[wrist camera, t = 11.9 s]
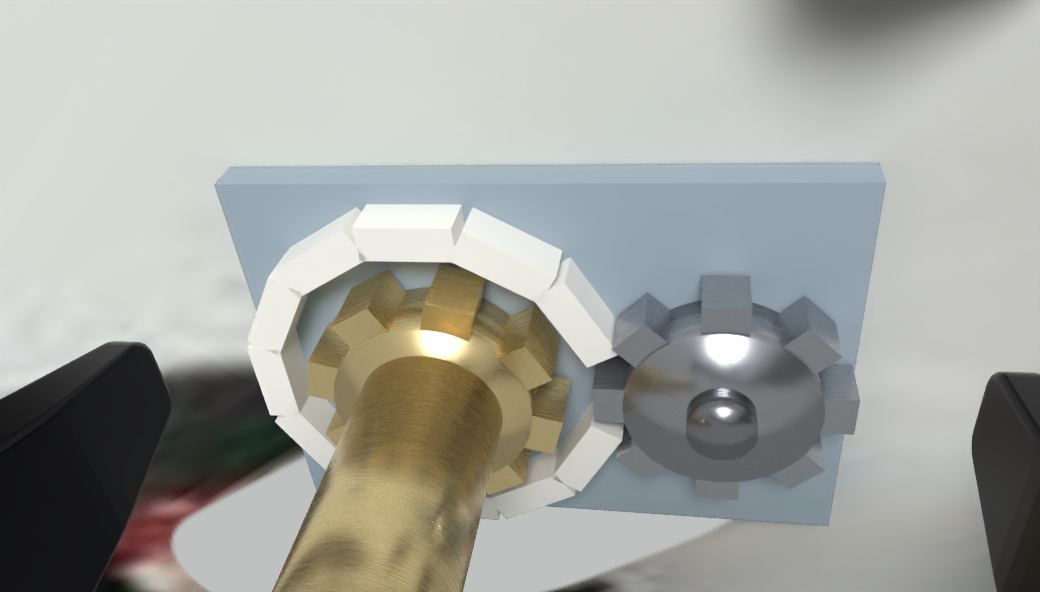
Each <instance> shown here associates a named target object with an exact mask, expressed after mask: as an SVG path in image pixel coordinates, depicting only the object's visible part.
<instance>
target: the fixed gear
mask: <svg viewBox="0 0 1040 592" xmlns="http://www.w3.org/2000/svg"><path fill="white" fill-rule="evenodd" d="M612 350H613V351H614V352H616V353H617V354H618V355H619V356H615V357H612V358H610V359H607V360H605V361H603V362H600V363H598V364H596V367H595V374H594V381H593V387H592V393H593V410H594V422H614V423H624V428H623V437H622V441H621V443H620V444H619V445H618V447H617V456H616V458H617V459H618V460H620V461H621V462H622V463H624V464H625V465H626V466H628V467H629V468H630V469H632V470H633V471H634V472H636V473H637V474H638V475H640V476H641V477H643V478H644V479H645V480H648V479H650V478H652V477H653V476H655V475H656V474H658V473H660V472H661V471H663V470H664V469H666V468H667V469H669V470H671V471H673V472H676V473H678V474H681V475H684V476H687V477H691V478H694V479H695V497H700V498H715V499H730V500H738V493H739V482H740V481H748V480H754V479H758V478H762V477H766V476H769V475H772V476H773V477H775V478H776V479H777V480H779V481H780V482H781V483H782V484H784V485H785V486H786V487H787V488H789V489H792V488H794V487H796V486H797V485H799V484H801V483H803V482H805V481H807V480H808V479H810V478H812V477H814V476H816V475H817V474H819V473H821V472H823V471H825V465H824V459H823V452H822V445H821V439H820V433H832V434H852V435H854V431H855V425H856V420H857V414H858V408H859V403H860V398H859V394H858V389H857V384H856V380H855V375H854V370H853V366H852V365H844V364H833V363H835V362H836V361H838V360H840V359H841V358H843V355H842V350H841V345H840V340H839V335H838V331H837V326H836V322H834V321H833V320H832V319H831V318H830V317H829V316H828V315H827V314H825V313H824V312H823V311H822V310H821V309H820V308H819V307H817V306H816V305H815V304H814V303H813V302H812V301H811V300H809V299H808V298H807V297H806V296H803V297H802V298H800V299H799V300H797V301H796V302H794V303H793V304H792V305H790V306H789V307H787V308H786V309H784V310H783V311H782V312H780V313H778V312H776V311H775V310H772V309H770V308H767V307H765V306H762V305H759V304H756V303H752V296H751V283H750V276H725V275H702V280H701V300H700V301H695V302H691V303H687V304H684V305H681V306H678V307H676V308H673V309H671V310H669V309H667V308H666V307H665V306H664V305H663V304H661V303H660V302H659V301H658V300H657V299H655V298H654V297H653V296H652V295H650V294H649V293H648V292H647V293H646V294H644V295H643V296H642V297H640V298H639V299H638V300H637V301H635V302H634V303H633V304H632V305H630V306H629V307H628V308H627V309H625V310H624V311H623V312H622V313H620V314H619V315H618V316H617V317H616V321H615V329H614V336H613V344H612ZM620 356H621V357H620Z"/></svg>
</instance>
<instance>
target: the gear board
mask: <svg viewBox="0 0 1040 592" xmlns="http://www.w3.org/2000/svg"><path fill="white" fill-rule="evenodd" d="M214 186H215V189H216V192H217V195H218V198H219V201H220V204H221V207H222V210H223V212H224V215H225V218H226V221H227V224H228V227H229V230H230V233H231V236H232V239H233V242H234V245H235V248H236V251H237V254H238V257H239V260H240V263H241V266H242V269H243V272H244V275H245V278H246V281H247V284H248V287H249V290H250V293H251V296H252V299H253V302H254V305H255V308H256V311H257V312H256V315H255V318H254V321H253V324H252V327H251V330H250V333H249V336H248V339H247V342H249V343H250V345H249V346H248V348H247V351H248V353H249V356H250V359H251V362H252V365H253V368H254V370H255V373H256V376H257V379H258V382H259V385H260V387H261V390H262V393H263V396H264V399H265V402H266V404H267V407H268V410H269V413H270V415H278V417H277V419H276V421H275V422H276V423H277V424H278V425H279V426H280V427H281V428H282V429H283V430H284V431H285V432H286V433H287V434H288V435H289V436H290V437H291V438H292V439H294V440H295V441H296V442H297V443H298V444H299V445H300V446H301V447H302V449H303V452H304V455H305V458H306V461H307V463H308V466H309V470H310V472H311V476H312V478H313V482H314V484H315V487H316V490H317V489H318V487H319V485H320V483H321V480H322V478H323V476H324V474H325V471H326V469H327V467H328V465H329V462H330V460H331V458H332V456H333V453H334V451H335V449H336V447H337V445H336V444H334V443H333V442H332V441H331V440H330V439H329V438H328V437H327V436H326V435H325V433H326V431H327V429H328V426H329V424H330V422H331V420H332V418H333V416H334V414H335V411H336V409H337V408H336V405H335V402H334V401H329V400H325V399H321V398H317V397H313V396H309V395H307V368H308V360H309V358H310V356H311V355H312V353H313V351H314V349H315V347H316V345H317V343H318V342H319V340H320V338H321V336H322V334H323V332H324V330H325V328H326V327H327V325H328V323H329V321H330V322H334V320H335V318H336V317H337V315H338V313H339V311H340V309H341V307H342V305H343V303H344V301H345V300H346V298H347V296H348V294H349V292H350V290H351V288H352V287H354V286H356V285H358V284H359V283H361V282H363V281H365V280H367V279H369V278H371V277H373V276H374V275H376V274H378V273H380V272H382V271H384V270H386V269H387V271H388V272H389V273H390V274H391V275H392V276H393V278H394V279H395V280H396V281H397V282H398V283H399V284H400V286H401V287H402V288H403V289H404V290H409V289H415V288H424V287H431V285H432V282H433V280H434V277H435V275H436V272H437V270H438V267H439V265H440V264H441V265H445V266H450V267H454V268H458V269H462V270H466V271H471V272H473V273H475V274H477V275H479V276H481V277H483V278H486V281H485V287H484V292H483V297H482V298H483V299H485V300H487V301H489V302H491V303H493V304H495V305H497V306H498V307H499V308H501V309H502V310H504V311H505V312H507V313H508V314H509V315H510V316H511V315H513V314H515V313H517V312H520V311H522V310H524V309H526V308H528V307H530V306H533V305H535V306H536V307H537V308H538V310H539V311H540V312H541V314H542V315H543V316H544V317H545V319H546V320H547V321H548V322H549V324H550V325H551V326H552V327H553V329H554V330H555V331H556V333H557V334H558V335H559V336H560V342H559V348H558V353H557V359H556V364H555V369H554V375H555V376H559V377H563V378H567V379H570V384H569V390H568V396H567V402H566V408H565V415H564V421H563V425H562V429H561V432H560V435H559V438H558V442H557V445H556V448H555V452H554V455H553V454H549V453H545V452H541V451H536V450H532V449H531V450H530V455H529V460H528V465H527V471H526V476H525V481H524V483H521V484H518V485H515V486H513V487H510V488H507V489H504V490H501V491H498V492H496V493H493V494H490V495H488V494H487V493H486V496H485V500H484V504H483V508H482V513H481V517H480V518H482V519H494V520H498V519H499V515H500V512H501V513H502V514H503V516H504V517H505V518H507V519H508V518H510V517H513V516H516V515H519V514H522V513H525V512H528V511H531V510H534V509H537V508H540V507H543V506H551V507H566V508H580V509H595V510H608V511H623V512H638V513H651V514H665V515H680V516H694V517H708V518H723V519H736V520H751V521H765V522H779V523H794V524H808V525H822V526H828V524H829V518H830V512H831V507H832V501H833V495H834V489H835V483H836V477H837V471H838V465H839V459H840V453H841V447H842V441H843V435H844V434H832V433H820V439H821V445H822V452H823V459H824V465H825V471H823V472H821V473H819V474H817V475H816V476H814V477H812V478H810V479H808V480H807V481H805V482H803V483H801V484H799V485H797V486H796V487H794V488H792V489H789V488H787V487H786V486H785V485H784V484H782V483H781V482H780V481H779V480H777V479H776V478H775V477H773V476H772V475H769V476H766V477H762V478H758V479H754V480H748V481H740V482H739V493H738V500H730V499H715V498H700V497H695V479H694V478H691V477H687V476H684V475H681V474H678V473H676V472H673V471H671V470H669V469H667V468H666V469H664V470H663V471H661V472H660V473H658V474H656V475H655V476H653V477H652V478H650V479H648V480H645V479H644V478H643V477H641V476H640V475H638V474H637V473H636V472H634V471H633V470H632V469H630V468H629V467H628V466H626V465H625V464H624V463H622V462H621V461H620V460H618V459H617V458H616V456H617V447H618V445H619V444H620V443H621V441H622V437H623V428H624V423H614V422H594V410H593V393H592V387H593V381H594V374H595V367H596V364H598V363H600V362H603V361H605V360H607V359H610V358H612V357H615V356H619V355H618V354H617V353H616V352H614V351H613V350H612V344H613V336H614V329H615V321H616V317H617V316H618V315H619V314H620V313H622V312H623V311H624V310H625V309H627V308H628V307H629V306H630V305H632V304H633V303H634V302H635V301H637V300H638V299H639V298H640V297H642V296H643V295H644V294H646V293H647V292H648V293H649V294H650V295H652V296H653V297H654V298H655V299H657V300H658V301H659V302H660V303H661V304H663V305H664V306H665V307H666V308H667V309H669V310H671V309H673V308H676V307H678V306H681V305H684V304H687V303H691V302H695V301H700V300H701V280H702V275H725V276H750V283H751V296H752V303H756V304H759V305H762V306H765V307H767V308H770V309H772V310H775V311H776V312H778V313H780V312H782V311H783V310H784V309H786V308H787V307H789V306H790V305H792V304H793V303H794V302H796V301H797V300H799V299H800V298H802V297H803V296H806V297H807V298H808V299H809V300H811V301H812V302H813V303H814V304H815V305H816V306H817V307H819V308H820V309H821V310H822V311H823V312H824V313H825V314H827V315H828V316H829V317H830V318H831V319H832V320H833V321H834V322H836V326H837V331H838V335H839V340H840V345H841V350H842V355H843V358H841V359H840V360H838V361H836V362H835V363H833V364H844V365H852V366H853V370H855V364H856V358H857V352H858V346H859V340H860V334H861V328H862V322H863V316H864V310H865V305H866V299H867V293H868V287H869V281H870V275H871V269H872V263H873V257H874V251H875V245H876V239H877V233H878V227H879V221H880V215H881V209H882V204H883V198H884V192H885V186H886V181H885V178H884V176H883V173H882V170H881V167H880V164H879V163H783V164H637V165H491V166H345V167H230V168H229V169H228V170H227V171H226V172H225V173H224V175H223V176H222V177H221V178H220V179H219V180H218V181H217V182H216V183H215V184H214ZM620 357H621V356H620Z"/></svg>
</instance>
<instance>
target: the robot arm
mask: <svg viewBox="0 0 1040 592" xmlns="http://www.w3.org/2000/svg"><path fill="white" fill-rule="evenodd" d="M171 407H172V401H171V395H170V392H169V390H168V388H167V385H166V383H165V381H164V378H163V376H162V374H161V371H160V369H159V367H158V365H157V362H156V360H155V358H154V355H153V353H152V351H151V350H150V349H149V348H148V347H147V346H146V345H145V344H143V343H140V342H122V341H114V342H108V343H106V344H103V345H101V346H100V347H98V348H96V349H94V350H92V351H90V352H88V353H86V354H85V355H83V356H81V357H79V358H77V359H75V360H73V361H71V362H70V363H68V364H66V365H64V366H62V367H60V368H58V369H56V370H55V371H53V372H51V373H49V374H47V375H45V376H43V377H41V378H40V379H38V380H36V381H34V382H32V383H30V384H28V385H26V386H25V387H23V388H21V389H19V390H17V391H15V392H13V393H11V394H9V395H8V396H6V397H4V398H2V399H0V592H94V591H95V589H96V587H97V585H98V583H99V581H100V579H101V577H102V575H103V573H104V571H105V569H106V567H107V565H108V563H109V561H110V559H111V558H112V556H113V554H114V552H115V550H116V548H117V546H118V544H119V541H120V539H121V537H122V535H123V533H124V531H125V529H126V527H127V524H128V522H129V519H130V517H131V515H132V512H133V510H134V507H135V505H136V502H137V500H138V497H139V495H140V492H141V489H142V487H143V484H144V482H145V479H146V477H147V474H148V471H149V469H150V466H151V464H152V461H153V459H154V456H155V453H156V451H157V448H158V446H159V443H160V441H161V438H162V435H163V433H164V430H165V428H166V425H167V423H168V420H169V417H170V414H171ZM972 458H973V464H974V469H975V475H976V480H977V486H978V491H979V497H980V503H981V508H982V514H983V519H984V525H985V530H986V536H987V542H988V547H989V553H990V558H991V564H992V569H993V575H994V580H995V585H996V590H997V592H1040V374H1037V373H1024V372H997V373H995V374H994V375H992V376H991V378H990V379H989V381H988V383H987V386H986V389H985V392H984V396H983V399H982V403H981V406H980V410H979V413H978V417H977V420H976V424H975V428H974V431H973V436H972Z"/></svg>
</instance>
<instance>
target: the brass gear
mask: <svg viewBox="0 0 1040 592" xmlns="http://www.w3.org/2000/svg"><path fill="white" fill-rule="evenodd" d="M485 281H486V278H483V277H481V276H479V275H477V274H475V273H473V272H471V271H466V270H462V269H458V268H454V267H450V266H445V265H441V264H440V265H439V267H438V270H437V272H436V275H435V277H434V280H433V282H432V285H431V287H424V288H415V289H409V290H404V289H403V288H402V287H401V286H400V284H399V283H398V282H397V281H396V280H395V279H394V278H393V276H392V275H391V274H390V273H389V272H388V271H387V269H386V270H384V271H382V272H380V273H378V274H376V275H374V276H373V277H371V278H369V279H367V280H365V281H363V282H361V283H359V284H358V285H356V286H354V287H352V288H351V290H350V292H349V294H348V296H347V298H346V300H345V301H344V303H343V305H342V307H341V309H340V311H339V313H338V315H337V317H336V318H335V320H334V322H330V321H329V323H328V325H327V327H326V328H325V330H324V332H323V334H322V336H321V338H320V340H319V342H318V343H317V345H316V347H315V349H314V351H313V353H312V355H311V356H310V358H309V360H308V368H307V395H309V396H313V397H317V398H321V399H325V400H329V401H334V402H335V405H336V408H337V409H336V411H335V414H334V416H333V418H332V420H331V422H330V424H329V426H328V429H327V431H326V433H325V435H326V436H327V437H328V438H329V439H330V440H331V441H332V442H333V443H334V444H336V445H337V447H336V449H335V451H334V453H333V456H332V458H331V460H330V462H329V465H328V467H327V469H326V471H325V474H324V476H323V478H322V480H321V483H320V485H319V487H318V489H317V492H316V494H315V496H314V499H313V501H312V503H311V505H310V508H309V510H308V512H307V514H306V517H305V519H304V521H303V523H302V526H301V528H300V530H299V533H298V535H297V537H296V540H295V541H294V544H293V546H292V549H291V551H290V553H289V555H288V557H287V560H286V562H285V564H284V566H283V569H282V571H281V573H280V575H279V578H278V580H277V582H276V584H275V587H274V589H273V591H272V592H463V588H464V584H465V579H466V575H467V571H468V567H469V563H470V558H471V554H472V550H473V546H474V542H475V538H476V534H477V529H478V525H479V521H480V517H481V513H482V508H483V504H484V500H485V496H486V493H487V494H488V495H490V494H493V493H496V492H498V491H501V490H504V489H507V488H510V487H513V486H515V485H518V484H521V483H524V481H525V476H526V471H527V465H528V460H529V455H530V450H531V449H532V450H536V451H541V452H545V453H549V454H553V455H554V452H555V448H556V445H557V442H558V438H559V435H560V432H561V429H562V425H563V421H564V415H565V408H566V402H567V396H568V390H569V384H570V379H567V378H563V377H559V376H555V375H554V369H555V364H556V359H557V353H558V348H559V342H560V336H559V335H558V334H557V333H556V331H555V330H554V329H553V327H552V326H551V325H550V324H549V322H548V321H547V320H546V319H545V317H544V316H543V315H542V314H541V312H540V311H539V310H538V308H537V307H536V306H535V305H533V306H530V307H528V308H526V309H524V310H522V311H520V312H517V313H515V314H513V315H511V316H510V315H509V314H508V313H507V312H505V311H504V310H502V309H501V308H499V307H498V306H497V305H495V304H493V303H491V302H489V301H487V300H485V299H483V298H482V297H483V292H484V287H485Z"/></svg>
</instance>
